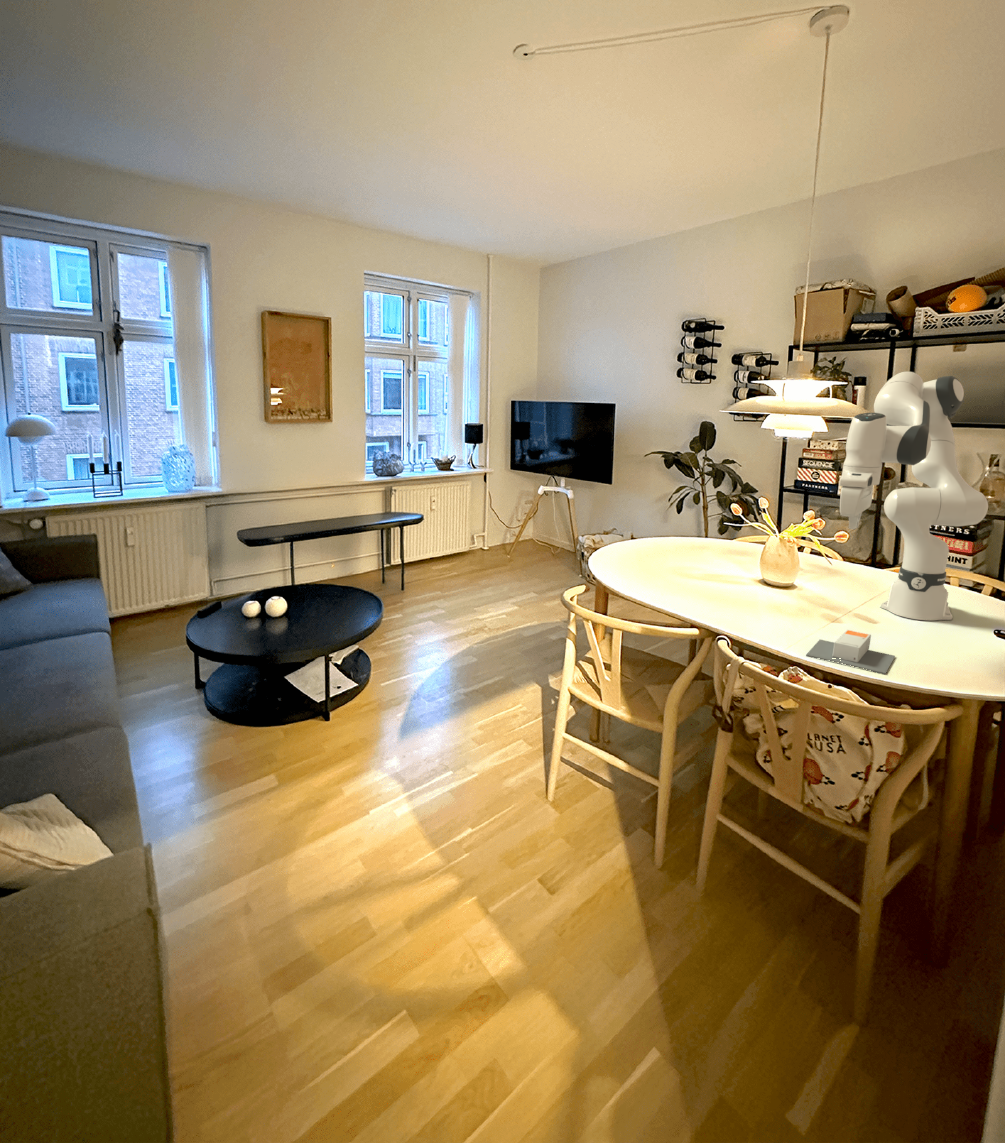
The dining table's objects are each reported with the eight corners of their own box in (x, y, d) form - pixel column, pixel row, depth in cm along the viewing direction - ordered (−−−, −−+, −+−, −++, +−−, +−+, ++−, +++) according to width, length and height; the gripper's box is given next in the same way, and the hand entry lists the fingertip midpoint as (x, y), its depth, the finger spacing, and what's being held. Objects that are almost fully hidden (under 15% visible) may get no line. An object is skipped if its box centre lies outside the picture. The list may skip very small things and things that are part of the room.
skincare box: (871, 633, 164) (860, 647, 155) (869, 648, 165) (858, 663, 156) (846, 628, 168) (834, 642, 159) (844, 643, 169) (831, 657, 160)
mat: (819, 640, 172) (819, 639, 172) (894, 657, 161) (895, 655, 160) (806, 656, 162) (806, 654, 162) (885, 674, 151) (885, 673, 151)
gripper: (856, 472, 172) (849, 521, 176) (838, 479, 157) (830, 533, 161) (882, 473, 168) (874, 523, 172) (866, 481, 153) (858, 536, 157)
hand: (853, 528), depth 166 cm, fingers closed
